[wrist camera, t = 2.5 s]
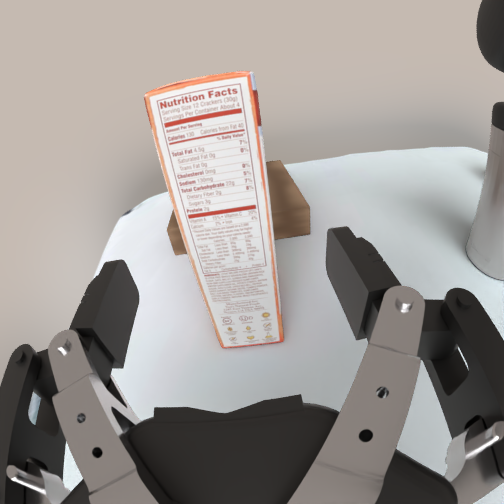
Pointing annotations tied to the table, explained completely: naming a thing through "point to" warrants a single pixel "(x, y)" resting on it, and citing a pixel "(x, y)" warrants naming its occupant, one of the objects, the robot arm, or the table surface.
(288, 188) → the walnut base
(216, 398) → the table surface
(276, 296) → the cracker box
